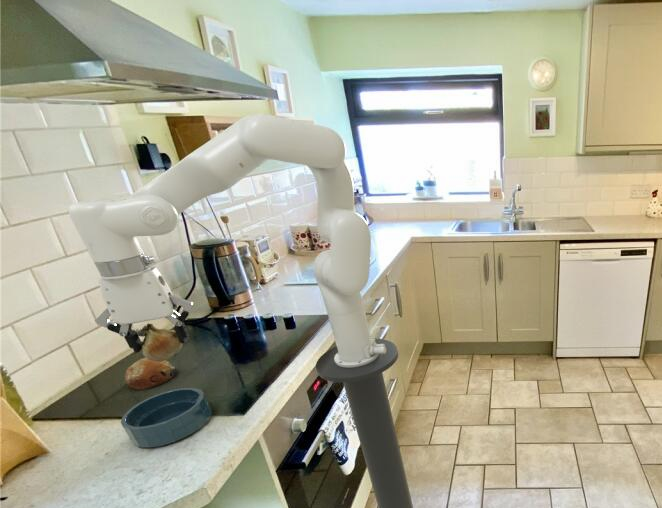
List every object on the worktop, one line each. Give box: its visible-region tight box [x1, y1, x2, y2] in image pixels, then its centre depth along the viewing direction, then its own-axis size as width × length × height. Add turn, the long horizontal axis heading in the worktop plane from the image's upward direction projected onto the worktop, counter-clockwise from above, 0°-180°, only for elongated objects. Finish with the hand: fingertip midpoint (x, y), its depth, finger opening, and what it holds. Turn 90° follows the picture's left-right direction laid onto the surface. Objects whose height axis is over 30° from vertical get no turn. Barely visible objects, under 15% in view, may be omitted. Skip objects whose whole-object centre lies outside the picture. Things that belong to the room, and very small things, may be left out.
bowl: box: [120, 387, 213, 448], centre depth 92 cm, size 15×15×6 cm
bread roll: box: [124, 357, 176, 390], centre depth 111 cm, size 10×10×8 cm
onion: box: [135, 323, 183, 361], centre depth 89 cm, size 8×8×8 cm
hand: (162, 344), depth 90 cm, fingers closed on onion, 7 cm apart
